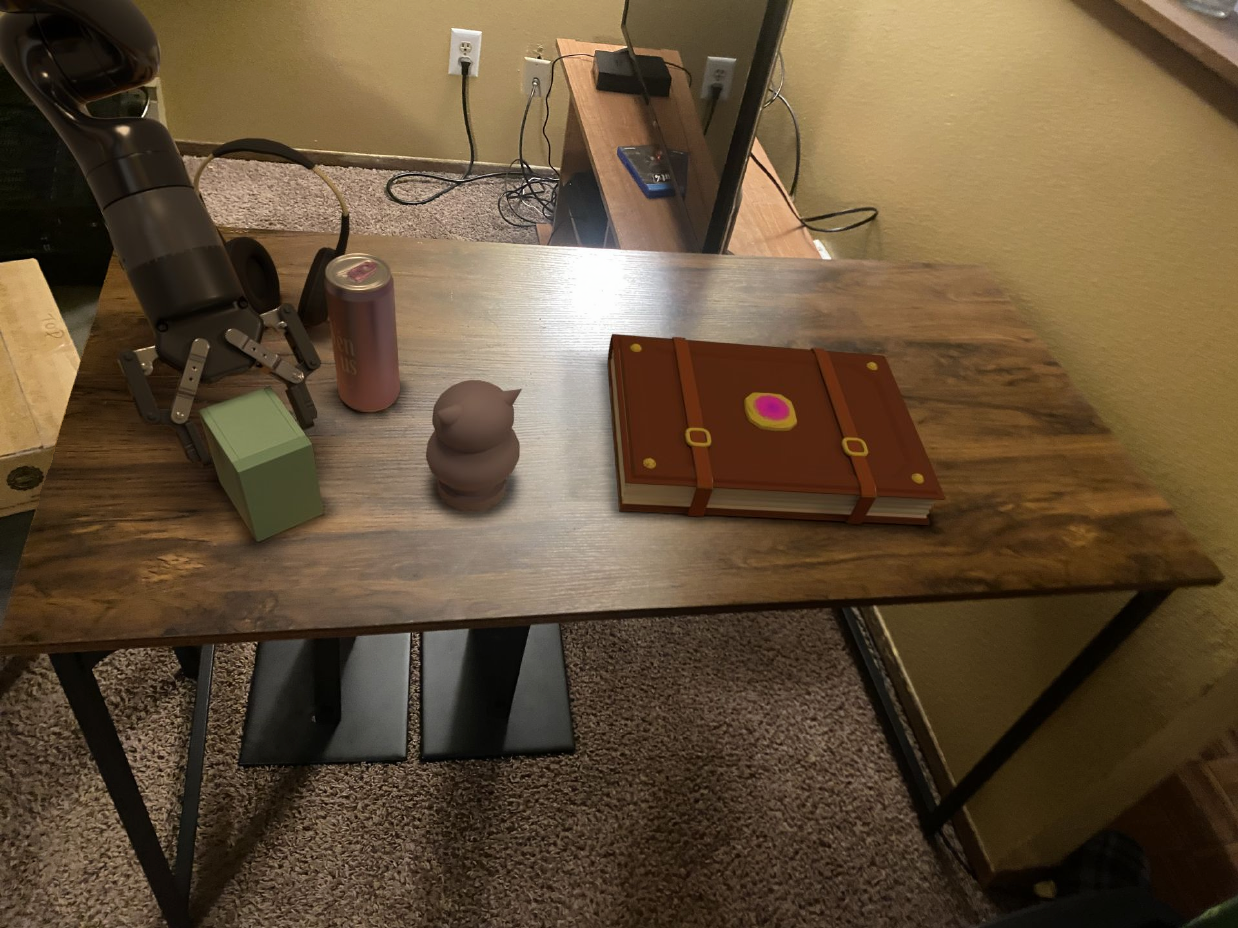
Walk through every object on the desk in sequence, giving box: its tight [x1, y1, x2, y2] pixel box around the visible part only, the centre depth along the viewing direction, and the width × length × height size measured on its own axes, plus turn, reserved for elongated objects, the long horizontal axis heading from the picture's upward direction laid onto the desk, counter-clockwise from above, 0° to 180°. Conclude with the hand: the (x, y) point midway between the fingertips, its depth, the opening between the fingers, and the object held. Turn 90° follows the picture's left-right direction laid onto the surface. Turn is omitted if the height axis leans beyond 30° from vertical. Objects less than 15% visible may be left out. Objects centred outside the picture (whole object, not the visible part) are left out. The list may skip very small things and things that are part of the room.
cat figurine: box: [425, 379, 523, 513], centre depth 74 cm, size 8×8×12 cm
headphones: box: [192, 137, 351, 328], centre depth 84 cm, size 9×15×20 cm, turn 90°
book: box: [607, 333, 947, 526], centre depth 87 cm, size 23×32×5 cm
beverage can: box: [324, 252, 401, 413], centre depth 79 cm, size 6×6×15 cm
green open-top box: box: [198, 385, 325, 543], centre depth 71 cm, size 8×6×9 cm
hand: (260, 446), depth 70 cm, fingers open, 8 cm apart
